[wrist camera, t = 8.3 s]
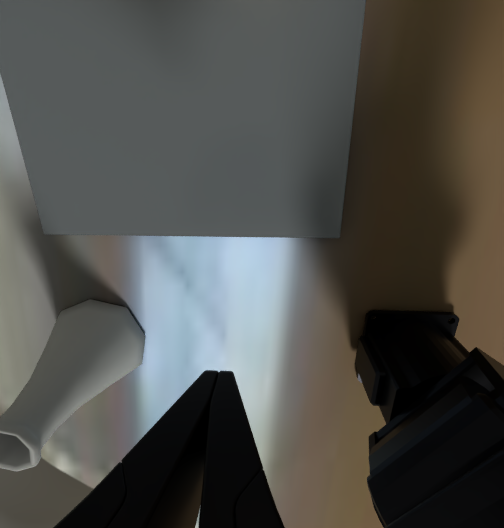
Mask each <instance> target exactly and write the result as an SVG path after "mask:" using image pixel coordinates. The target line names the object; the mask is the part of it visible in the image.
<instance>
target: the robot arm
mask: <svg viewBox="0 0 504 528" xmlns="http://www.w3.org/2000/svg"><path fill="white" fill-rule="evenodd" d="M373 316H376V318H374V319H371V317H373ZM450 318H452V319H451V320H450V321H448V320H449V319H450ZM458 322H459V318H458V317H457V316H456V315H455V314H454V313H452V312H424V311H384V310H372V311H369V312H368V313H367V314H366V318H365V324H364V330H363V336H361V337H360V338H359V341H358V347H357V354H356V360H355V365H356V368H357V378H358V380H359V382H361V383H363V386H364V388H365V391H366V393H367V396H368V398H369V401H370V403H371V404H372V405H374V406H379V408H380V410H381V412H382V415H383V417H384V419H385V422H386V425H385V426H384V427H383V428H381V429H380V430H379V431H378V432H374V433H372V434H371V435H370V436H369V465H370V475H369V476H368V477H367V484H368V488H369V491H370V494H371V498H372V501H373V505H374V509H375V511H376V513H377V515H378V518H379V520H380V522H381V523H382V525H383V527H384V528H504V366H503V365H502V364H501V363H499V362H498V361H496V360H495V359H493V358H492V357H490V356H489V355H487V354H486V353H484V352H483V351H482V350H480V349H479V348H477V347H476V348H474V349H473V350H472V351H471V352H470V353H469V352H468V351H467V350H466V349H465V348H464V347H463V345H462V344H461V343H460V342H459V341H458V340H457V339H456V338H455V337H454V336H455V333H456V329H457V326H458ZM200 505H201V507H200ZM199 509H200V518H199V528H285V527H284V525H283V522H282V520H281V518H280V515H279V513H278V510H277V508H276V505H275V502H274V499H273V497H272V494H271V491H270V488H269V485H268V482H267V479H266V476H265V472H264V470H263V466H262V463H261V460H260V457H259V454H258V450H257V447H256V444H255V441H254V438H253V434H252V431H251V428H250V425H249V421H248V418H247V415H246V412H245V409H244V405H243V402H242V399H241V396H240V393H239V389H238V386H237V383H236V380H235V377H234V373H233V372H232V371H220V372H218V371H213V370H206V371H204V372H203V373H202V374H201V375H200V376H199V378H198V379H197V380H196V381H195V382H194V383H193V384H192V385H191V386H190V387H189V388H188V389H187V390H186V391H185V393H184V394H183V395H182V396H181V397H180V398H179V399H178V400H177V401H176V402H175V403H174V404H173V405H172V407H171V408H170V409H169V410H168V411H167V412H166V413H165V414H164V415H163V416H162V417H161V418H160V419H159V420H158V422H157V423H156V424H155V425H154V426H153V427H152V428H151V429H150V430H149V431H148V432H147V433H146V434H145V435H144V437H143V438H142V439H141V440H140V441H139V442H138V443H137V444H136V445H135V446H134V447H133V448H132V449H131V450H130V452H129V453H128V454H127V455H126V456H125V457H124V458H123V459H122V463H121V462H119V463H118V464H117V465H116V466H115V467H114V469H113V470H112V471H111V472H110V473H109V474H108V475H107V476H106V477H105V478H104V479H103V480H102V481H101V482H100V483H99V484H98V485H97V486H96V487H95V488H94V489H93V491H91V493H90V494H89V495H88V496H86V497H85V498H84V500H82V501H81V502H80V503H79V504H78V505H77V506H76V507H75V508H74V509H73V510H72V511H71V512H70V513H69V514H67V516H66V517H64V518H63V519H62V520H61V521H60V522H59V523H58V524H57V525H56V526H55V527H54V528H195V525H196V521H197V517H198V513H199Z"/></svg>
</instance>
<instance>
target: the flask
mask: <svg viewBox="0 0 504 528" xmlns="http://www.w3.org/2000/svg"><path fill="white" fill-rule="evenodd" d="M144 345H145V335H144V333H143V332H142V330H141V329H140V327H139V326H138V324H137V323H136V321H135V320H134V318H133V317H132V315H131V314H130V312H129V310H128V309H127V308H126V307H122V306H118V305H113V304H109V303H105V302H100V301H96V300H92V299H89V300H87V301H84V302H82V303H79V304H77V305H75V306H72V307H70V308H67V309H65V310H62V311H61V312H60V314H59V316H58V318H57V320H56V323H55V325H54V328H53V330H52V332H51V335H50V337H49V340H48V342H47V344H46V347H45V349H44V351H43V353H42V355H41V357H40V359H39V361H38V363H37V366H36V368H35V370H34V372H33V374H32V376H31V378H30V380H29V381H28V383H27V384H26V386H25V387H24V388H23V390H22V391H21V393H20V394H19V395H18V397H17V398H16V400H15V401H14V403H13V404H12V405H11V406H10V407H9V408H8V409H7V410H6V411H5V413H4V414H3V415H2V416H1V417H0V468H3V469H8V470H12V471H21V470H24V469H28V468H31V467H35V466H36V465H37V464H38V462H39V460H40V458H41V449H42V447H43V446H44V444H45V443H46V442H47V441H48V439H49V438H50V437H51V435H52V434H53V433H54V432H55V430H56V429H57V428H58V427H59V426H60V425H61V424H62V423H63V422H64V421H65V420H67V419H68V418H69V417H70V416H71V415H72V414H73V413H74V412H75V411H76V410H77V409H78V408H79V407H81V406H82V405H83V404H85V403H86V402H88V401H89V400H90V399H92V398H93V397H95V396H96V395H97V394H99V393H100V392H102V391H103V390H104V389H106V388H107V387H109V386H110V385H111V384H113V383H114V382H116V381H118V380H119V379H121V378H122V377H124V376H125V375H127V374H128V373H130V372H131V371H133V370H134V369H136V368H137V367H138V366H140V365H141V364H142V362H143V353H144Z"/></svg>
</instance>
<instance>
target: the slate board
mask: <svg viewBox="0 0 504 528" xmlns="http://www.w3.org/2000/svg"><path fill="white" fill-rule="evenodd" d="M365 3H366V0H0V73H1V77H2V80H3V84H4V88H5V91H6V95H7V99H8V103H9V106H10V110H11V114H12V117H13V121H14V125H15V129H16V132H17V136H18V140H19V144H20V147H21V151H22V155H23V158H24V162H25V166H26V170H27V173H28V177H29V181H30V184H31V188H32V192H33V196H34V199H35V203H36V207H37V211H38V214H39V218H40V222H41V225H42V229H43V233H44V234H59V235H136V236H213V237H290V238H340V231H341V222H342V213H343V204H344V195H345V185H346V176H347V167H348V158H349V149H350V140H351V131H352V122H353V113H354V104H355V94H356V85H357V76H358V67H359V58H360V49H361V40H362V31H363V22H364V13H365Z"/></svg>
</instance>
